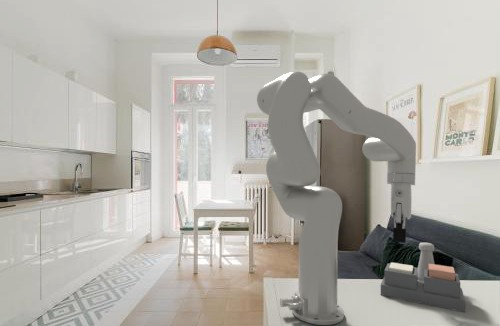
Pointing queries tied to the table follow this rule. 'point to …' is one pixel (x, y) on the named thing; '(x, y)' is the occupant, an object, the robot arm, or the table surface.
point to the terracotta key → (441, 272)
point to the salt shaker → (425, 258)
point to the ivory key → (401, 268)
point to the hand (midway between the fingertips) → (399, 241)
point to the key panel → (423, 289)
